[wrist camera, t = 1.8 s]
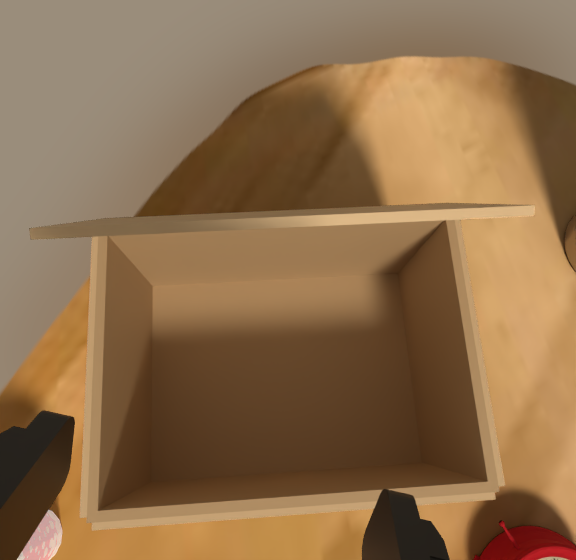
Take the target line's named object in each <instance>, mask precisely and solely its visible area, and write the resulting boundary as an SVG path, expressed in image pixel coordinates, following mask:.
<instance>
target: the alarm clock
mask: <svg viewBox="0 0 576 560" xmlns="http://www.w3.org/2000/svg"><path fill="white" fill-rule="evenodd" d="M499 525H500V526H502V527H503V529H504V530H505V531H504V532H503V533H501V534H499V535H498V536H497V537H495V538H494V539H493V540H492V541H491V542H490V543H489V544H488V545H487V547H486V548H485V549H484V551H483V552H482V554H481V556H480V557H479V556H477V555H475V557H474V559H473V560H576V546H575V545H574V544H573V543H572V542H570V541H569V540H568V539H566V538H565V537H563V536H562V535H560V534H558V533H556V532H554V531H551V530H549V529H546V528H542V527H537V526H520V527H515V528H512V529H509V530H507V528H506V527H505V523H504V521H500V522H499Z"/></svg>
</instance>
